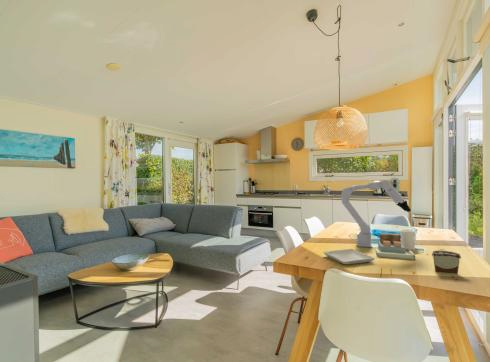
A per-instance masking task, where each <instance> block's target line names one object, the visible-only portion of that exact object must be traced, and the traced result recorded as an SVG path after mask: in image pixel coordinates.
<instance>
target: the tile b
mask: <svg viewBox="0 0 490 362" xmlns="http://www.w3.org/2000/svg"><path fill="white" fill-rule="evenodd" d="M393 246H395V247H401V242H398V241H393Z"/></svg>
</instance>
